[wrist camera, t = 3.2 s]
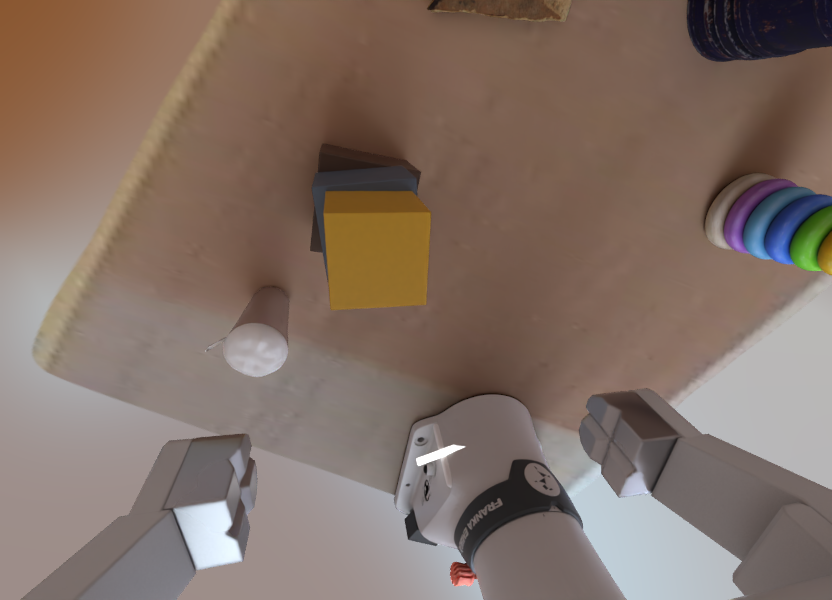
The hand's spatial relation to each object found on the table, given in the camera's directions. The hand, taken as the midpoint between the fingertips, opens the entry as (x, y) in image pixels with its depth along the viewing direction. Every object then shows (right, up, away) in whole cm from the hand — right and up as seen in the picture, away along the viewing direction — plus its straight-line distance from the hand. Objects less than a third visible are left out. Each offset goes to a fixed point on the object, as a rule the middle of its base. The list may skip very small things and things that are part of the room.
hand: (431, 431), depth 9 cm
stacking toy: (+34, +13, +32) cm, 48 cm away
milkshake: (-14, +3, +27) cm, 30 cm away
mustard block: (-3, +7, +14) cm, 16 cm away
